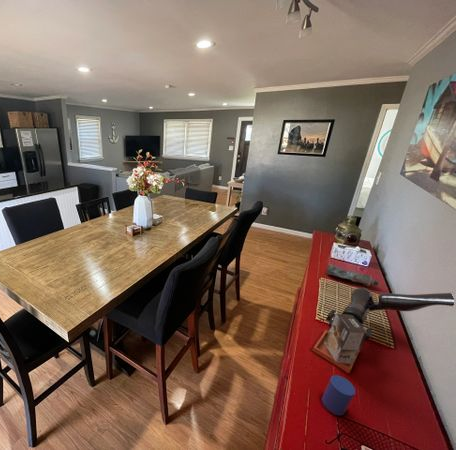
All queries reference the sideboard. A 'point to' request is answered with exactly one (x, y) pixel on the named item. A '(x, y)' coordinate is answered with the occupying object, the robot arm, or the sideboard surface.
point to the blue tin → (338, 395)
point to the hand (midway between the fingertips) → (343, 333)
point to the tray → (324, 352)
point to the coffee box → (345, 338)
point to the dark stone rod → (350, 275)
